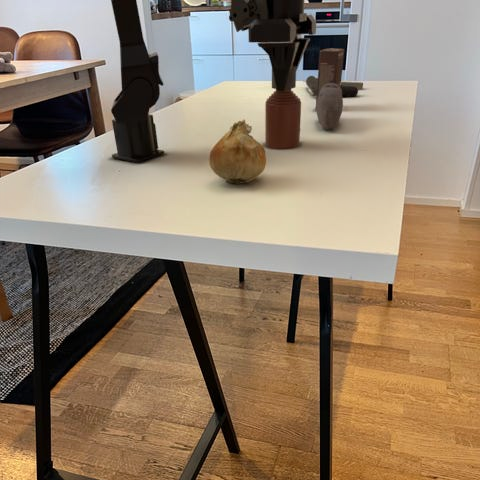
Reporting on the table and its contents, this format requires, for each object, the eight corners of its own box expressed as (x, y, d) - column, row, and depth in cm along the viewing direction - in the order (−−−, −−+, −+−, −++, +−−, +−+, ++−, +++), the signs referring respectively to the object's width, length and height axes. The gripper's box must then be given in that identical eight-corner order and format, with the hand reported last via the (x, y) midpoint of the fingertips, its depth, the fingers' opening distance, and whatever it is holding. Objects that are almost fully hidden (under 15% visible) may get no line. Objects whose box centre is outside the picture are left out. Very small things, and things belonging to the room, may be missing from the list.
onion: (202, 178, 70) (197, 120, 65) (252, 170, 72) (251, 113, 68) (222, 194, 64) (218, 130, 59) (275, 184, 66) (276, 123, 62)
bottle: (288, 150, 81) (290, 74, 75) (258, 146, 84) (258, 72, 78) (305, 142, 85) (309, 70, 79) (276, 139, 88) (277, 68, 82)
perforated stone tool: (339, 134, 89) (343, 93, 85) (311, 134, 90) (313, 93, 86) (342, 118, 101) (345, 81, 98) (317, 118, 102) (319, 82, 99)
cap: (266, 87, 80) (266, 66, 78) (283, 85, 82) (283, 64, 80) (283, 90, 77) (283, 68, 75) (300, 87, 79) (301, 66, 77)
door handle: (358, 76, 137) (302, 74, 137) (374, 86, 121) (311, 84, 120) (356, 89, 139) (301, 87, 139) (372, 101, 122) (309, 99, 122)
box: (334, 111, 107) (338, 50, 101) (314, 110, 109) (317, 50, 102) (340, 106, 112) (345, 47, 105) (321, 106, 114) (325, 48, 107)
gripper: (253, -23, 81) (255, 80, 89) (211, -27, 66) (218, 97, 75) (319, -26, 77) (314, 81, 86) (290, -31, 63) (287, 98, 71)
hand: (283, 88), depth 80 cm, fingers closed on cap, 4 cm apart
